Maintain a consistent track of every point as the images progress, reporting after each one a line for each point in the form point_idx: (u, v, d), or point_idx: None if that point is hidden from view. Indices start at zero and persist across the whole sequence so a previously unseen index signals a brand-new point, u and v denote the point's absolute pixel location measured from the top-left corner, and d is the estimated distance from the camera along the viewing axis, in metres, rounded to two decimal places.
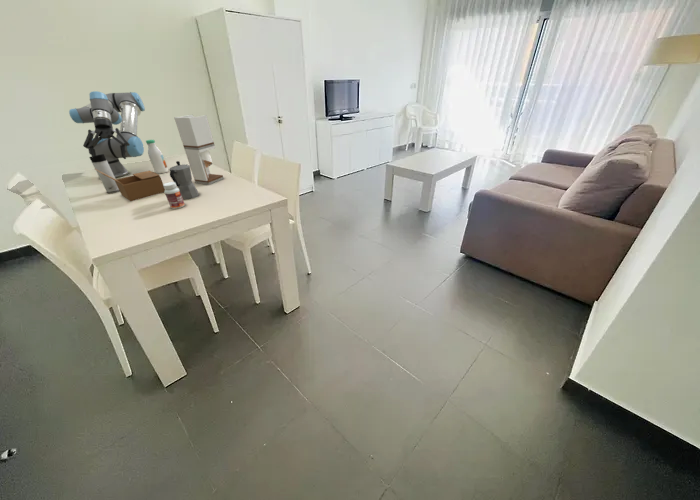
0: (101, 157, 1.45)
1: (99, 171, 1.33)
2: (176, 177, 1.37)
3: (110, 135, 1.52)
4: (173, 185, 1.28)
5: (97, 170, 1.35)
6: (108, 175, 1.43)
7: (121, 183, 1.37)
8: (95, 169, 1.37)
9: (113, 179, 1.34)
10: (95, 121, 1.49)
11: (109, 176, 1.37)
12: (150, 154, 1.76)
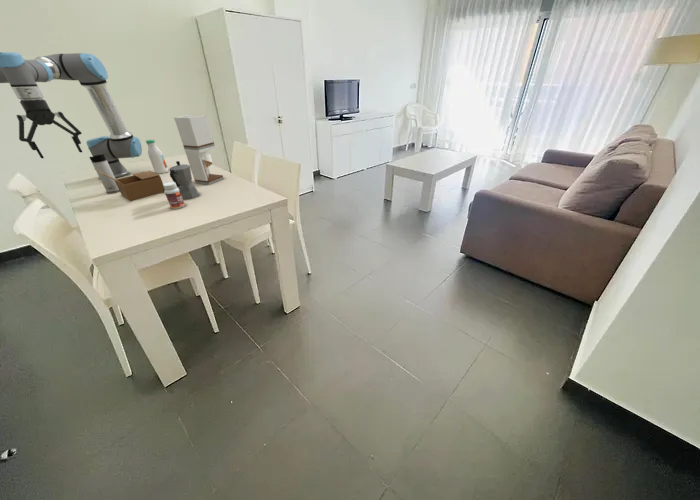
0: (101, 157, 1.45)
1: (99, 171, 1.33)
2: (176, 177, 1.37)
3: (55, 123, 1.18)
4: (173, 185, 1.28)
5: (97, 170, 1.35)
6: (108, 175, 1.43)
7: (121, 183, 1.37)
8: (95, 169, 1.37)
9: (113, 179, 1.34)
10: (29, 104, 1.10)
11: (109, 176, 1.37)
12: (150, 154, 1.76)
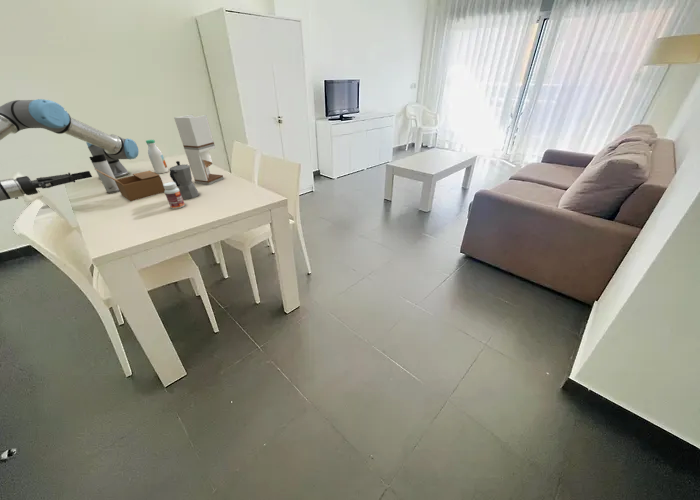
0: (101, 157, 1.45)
1: (99, 171, 1.33)
2: (176, 177, 1.37)
3: None
4: (173, 185, 1.28)
5: (97, 170, 1.35)
6: (108, 175, 1.43)
7: (121, 183, 1.37)
8: (95, 169, 1.37)
9: (113, 179, 1.34)
10: None
11: (109, 176, 1.37)
12: (150, 154, 1.76)
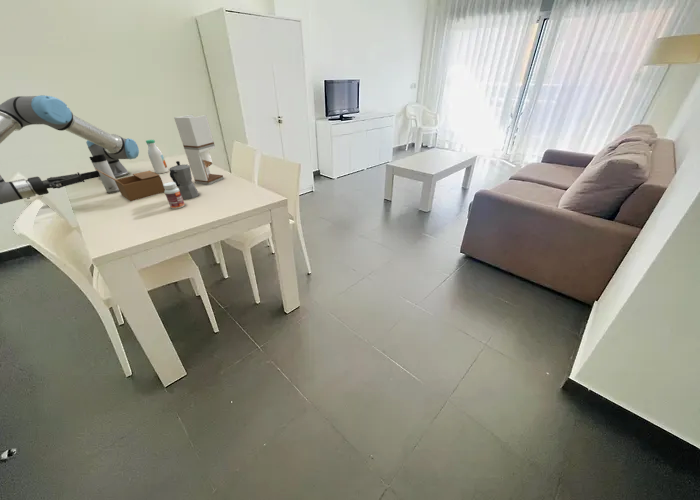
0: (101, 157, 1.45)
1: (99, 171, 1.34)
2: (176, 177, 1.37)
3: None
4: (173, 185, 1.28)
5: (97, 170, 1.35)
6: None
7: (121, 183, 1.37)
8: (95, 168, 1.37)
9: (113, 179, 1.34)
10: None
11: None
12: (150, 154, 1.76)
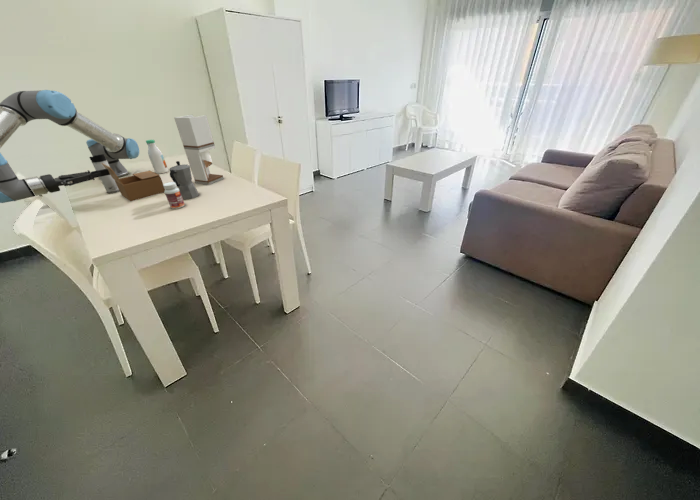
0: (101, 157, 1.45)
1: None
2: (176, 177, 1.37)
3: None
4: (173, 185, 1.28)
5: None
6: (110, 174, 1.43)
7: (121, 183, 1.37)
8: (102, 163, 1.39)
9: (116, 176, 1.35)
10: None
11: None
12: (150, 154, 1.76)
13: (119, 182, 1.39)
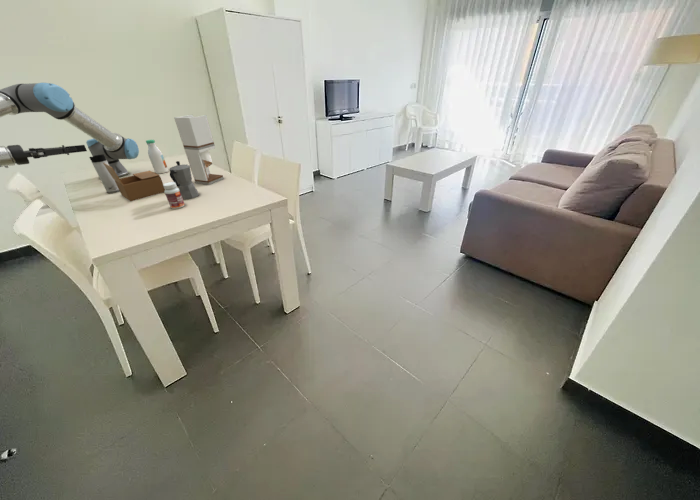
0: (101, 157, 1.45)
1: (108, 165, 1.35)
2: (176, 177, 1.37)
3: (45, 156, 1.20)
4: (173, 185, 1.28)
5: (106, 164, 1.37)
6: (111, 173, 1.44)
7: (121, 183, 1.37)
8: (104, 163, 1.39)
9: (117, 176, 1.35)
10: None
11: (114, 173, 1.38)
12: (150, 154, 1.76)
13: (119, 182, 1.39)
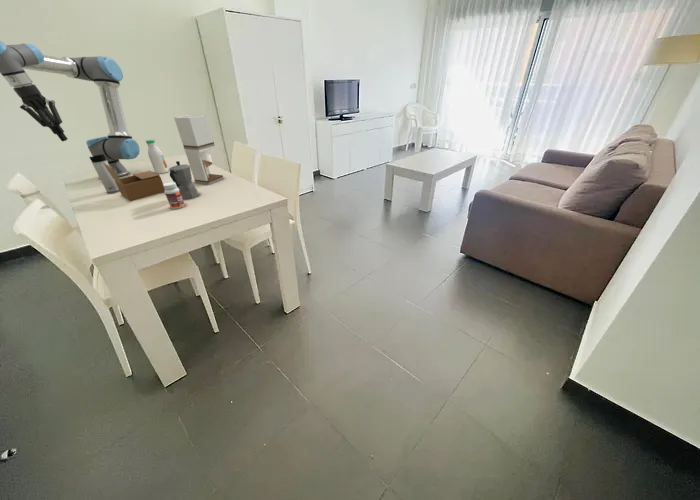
0: (101, 157, 1.45)
1: (108, 165, 1.35)
2: (176, 177, 1.37)
3: (41, 109, 1.27)
4: (173, 185, 1.28)
5: (106, 164, 1.37)
6: (111, 173, 1.44)
7: (121, 183, 1.37)
8: (104, 163, 1.39)
9: (117, 176, 1.35)
10: (17, 91, 1.20)
11: (114, 173, 1.38)
12: (150, 154, 1.76)
13: (119, 182, 1.39)
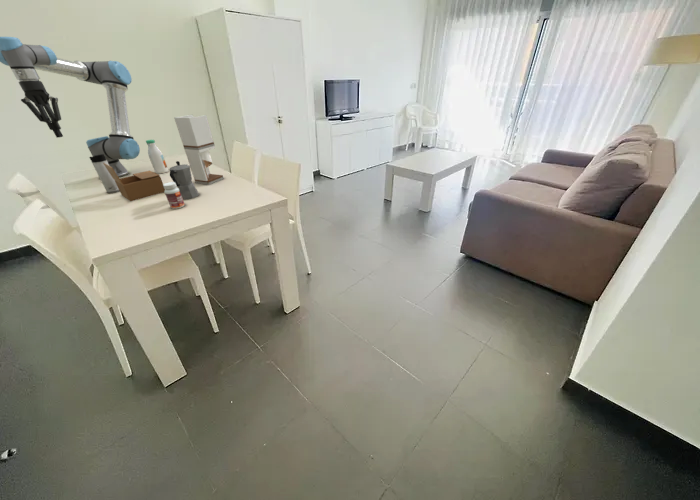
0: (101, 157, 1.45)
1: (108, 165, 1.35)
2: (176, 177, 1.37)
3: (42, 104, 1.28)
4: (173, 185, 1.28)
5: (106, 164, 1.37)
6: (111, 173, 1.44)
7: (121, 183, 1.37)
8: (104, 163, 1.39)
9: (117, 176, 1.35)
10: (21, 84, 1.22)
11: (114, 173, 1.38)
12: (150, 154, 1.76)
13: (119, 182, 1.39)
